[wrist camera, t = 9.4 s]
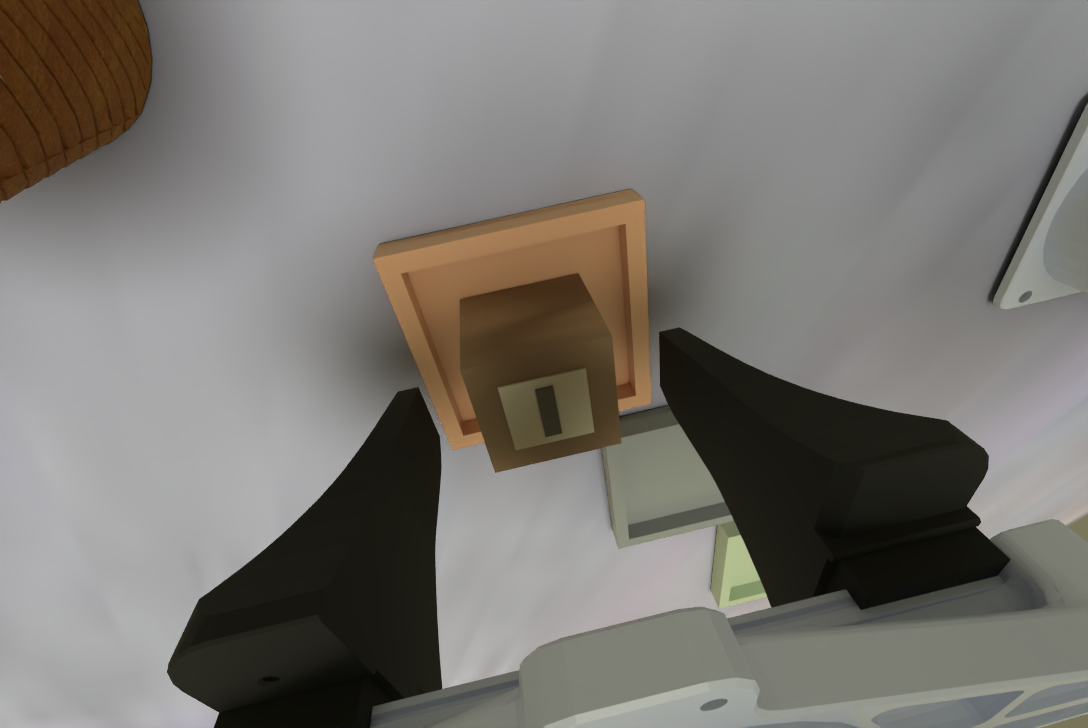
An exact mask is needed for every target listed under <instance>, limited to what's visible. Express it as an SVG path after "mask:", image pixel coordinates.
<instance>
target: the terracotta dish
mask: <svg viewBox="0 0 1088 728" xmlns="http://www.w3.org/2000/svg"><path fill="white" fill-rule="evenodd" d="M373 261H374V264H375V266H376V268H377V271H378V273H379V276H380V278H381V280H382V283H383V285H384V288H385V290H386V292H387V295H388V297H389V299H390V302H391V304H392V307H393V309H394V311H395V314H396V316H397V319H398V321H399V323H400V326H401V328H402V331H403V333H404V335H405V338H406V340H407V343H408V345H409V347H410V350H411V352H412V355H413V357H414V359H415V362H416V364H417V366H418V369H419V371H420V374H421V376H422V378H423V381H424V383H425V386H426V388H427V390H428V393H429V395H430V398H431V400H432V402H433V405H434V407H435V410H436V412H437V414H438V417H439V419H440V422H441V424H442V426H443V429H444V431H445V434H446V436H447V438H448V441H449V443H450V445H451V448H452V450H455V449H459V448H464V447H468V446H472V445H477V444H481V443H485V441H484V439H483V436H482V433H481V430H480V427H479V424H478V421H477V418H476V415H475V412H474V410H473V407H472V404H471V401H470V398H469V395H468V392H467V389H466V386H465V383H464V380H463V378H462V375H461V372H460V299H465V298H469V297H474V296H478V295H483V294H487V293H492V292H496V291H501V290H506V289H510V288H515V287H519V286H524V285H528V284H533V283H537V282H542V281H546V280H551V279H556V278H560V277H565V276H569V275H574V274H578V273H579V275H580V277H581V278H582V280H583V282H584V284H585V286H586V288H587V290H588V292H589V293H590V295H591V297H592V299H593V301H594V303H595V305H596V307H597V308H598V310H599V312H600V314H601V316H602V318H603V320H604V322H605V324H606V325H607V327H608V329H609V331H610V333H611V335H612V339H613V351H614V362H615V374H616V385H617V397H618V408H619V411H622V410H627V409H631V408H635V407H640V406H644V405H648V404H651V377H650V348H649V319H648V290H647V260H646V231H645V202H644V198H642V197H641V196H640V195H639V194H637V193H636V192H635V191H634V190H632V189H628V190H624V191H619V192H615V193H610V194H605V195H601V196H596V197H592V198H587V199H583V200H578V201H574V202H569V203H564V204H560V205H555V206H551V207H546V208H542V209H537V210H533V211H528V212H523V213H519V214H514V215H510V216H505V217H501V218H496V219H492V220H487V221H482V222H478V223H473V224H469V225H464V226H460V227H455V228H451V229H446V230H441V231H437V232H432V233H428V234H423V235H419V236H414V237H410V238H405V239H400V240H396V241H391V242H387V243H382V244H379V245H378V247H377V250H376V252H375V255H374V257H373Z"/></svg>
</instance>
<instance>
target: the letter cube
mask: <svg viewBox="0 0 1088 728" xmlns="http://www.w3.org/2000/svg"><path fill="white" fill-rule="evenodd" d="M460 372H461V375H462V378H463V380H464V383H465V386H466V389H467V392H468V395H469V398H470V401H471V404H472V407H473V410H474V412H475V415H476V418H477V421H478V424H479V427H480V430H481V433H482V436H483V439H484V441H485V444H486V447H487V450H488V453H489V456H490V459H491V462H492V465H493V468H494V470H495V473H496V472H500V471H505V470H509V469H513V468H517V467H522V466H526V465H530V464H535V463H539V462H543V461H548V460H552V459H556V458H561V457H565V456H569V455H573V454H578V453H582V452H586V451H591V450H595V449H599V448H604V447H608V446H612V445H616V444H621V443H622V442H621V431H620V420H619V408H618V397H617V385H616V374H615V362H614V351H613V339H612V335H611V333H610V331H609V329H608V327H607V325H606V324H605V322H604V320H603V318H602V316H601V314H600V312H599V310H598V308H597V307H596V305H595V303H594V301H593V299H592V297H591V295H590V293H589V292H588V290H587V288H586V286H585V284H584V282H583V280H582V278H581V277H580V275H579V273H578V274H574V275H569V276H565V277H560V278H556V279H551V280H546V281H542V282H537V283H533V284H528V285H524V286H519V287H515V288H510V289H506V290H501V291H496V292H492V293H487V294H483V295H478V296H474V297H469V298H465V299H460Z"/></svg>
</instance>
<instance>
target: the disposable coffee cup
mask: <svg viewBox="0 0 1088 728" xmlns="http://www.w3.org/2000/svg"><path fill="white" fill-rule="evenodd" d="M151 60H152V59H151V52H150V46H149V39H148V33H147V26H146V23H145V20H144V18H143V15H142V12H141V9H140V7H139V4H138V1H137V0H0V203H1V201H4V200H9V199H10V198H12V197H13V196H15V195H16V194H18V193H19V192H21V191H23V189H26V188H30V187H31V186H33V185H35V184H36V183H38V182H39V181H41V180H42V179H43V178H46V177H49V176H51V175H52V174H54V173H56V172H57V171H59V170H60V169H61V168H64V167H67V166H68V165H70V164H72V163H73V162H75V161H76V160H77V159H81V158H83V157H85V156H86V155H88V154H89V153H91V152H92V151H94V150H97V149H98V148H100V147H102V146H104V145H106V144H109V143H111V142H113V141H114V140H115V139H117V138H118V137H119V136H120V135H122V134H123V133H124V132H125V131H127V130H128V129H129V128H130V127H131V126H132V124H133V123H134V122H135V120H136V119H137V118H138V117H139V115H140V114H141V112H142V109H143V105H144V102H145V99H146V95H147V92H148V89H149V85H150V79H151Z"/></svg>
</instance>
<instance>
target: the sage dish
mask: <svg viewBox="0 0 1088 728" xmlns="http://www.w3.org/2000/svg"><path fill="white" fill-rule="evenodd" d="M711 592H712V594H713V597H714V599H715V601H716V603H717V605H718V607H719V608H723V607H727V606H731V605H735V604H739V603H743V602H747V601H751V600H755V599H759V598H763V597H767V595H766V593H765V590H764V588H763V585H762V583H761V580H760V578H759V576H758V573H757V571H756V569H755V566H754V564H753V562H752V560H751V557H750V555H749V553H748V550H747V548H746V546H745V543H744V541H743V539H742V537H741V535H740V533H739V530H738V528H737V526H736V524H735V522H734V521H731V522H727V523H723V524H719V525H717V533H716V543H715V553H714V562H713V572H712V581H711Z"/></svg>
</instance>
